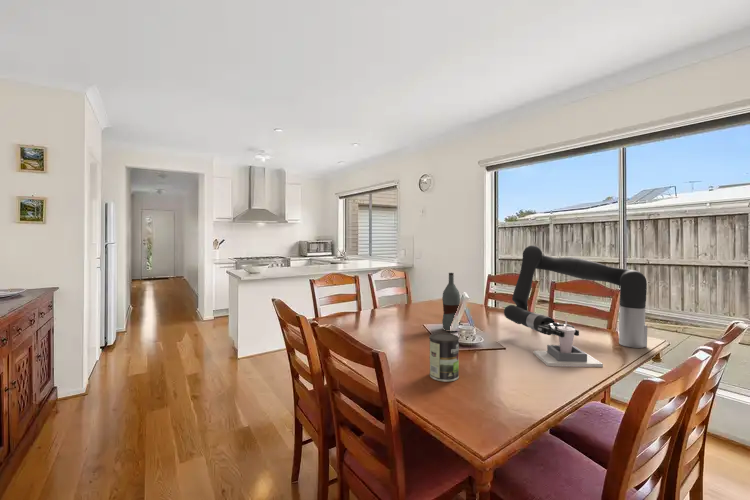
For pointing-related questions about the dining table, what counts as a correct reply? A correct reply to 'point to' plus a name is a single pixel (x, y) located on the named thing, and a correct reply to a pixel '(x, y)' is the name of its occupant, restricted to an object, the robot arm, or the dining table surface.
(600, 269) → the robot arm
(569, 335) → the smoothie
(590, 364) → the socket stand
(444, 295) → the dark grey tall bottle
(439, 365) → the coffee can
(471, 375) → the dining table surface
